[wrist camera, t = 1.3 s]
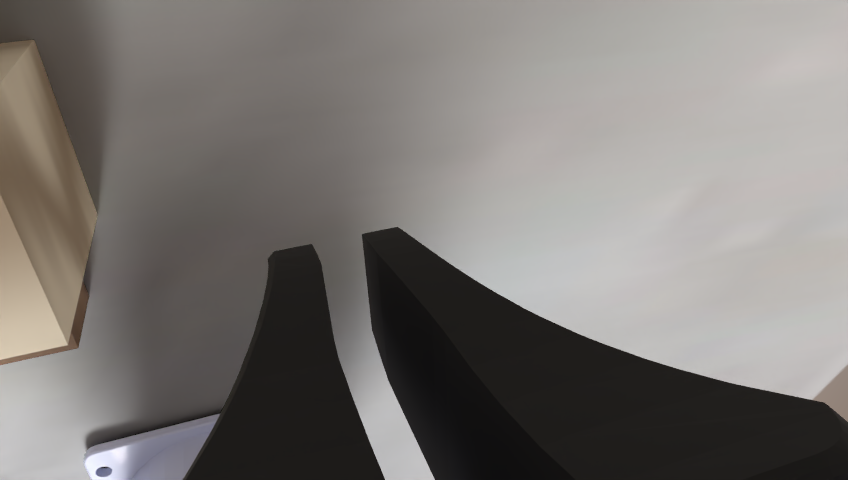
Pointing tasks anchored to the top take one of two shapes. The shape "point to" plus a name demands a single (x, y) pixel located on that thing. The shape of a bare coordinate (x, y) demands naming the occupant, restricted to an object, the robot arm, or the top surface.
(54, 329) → the block
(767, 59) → the top surface
